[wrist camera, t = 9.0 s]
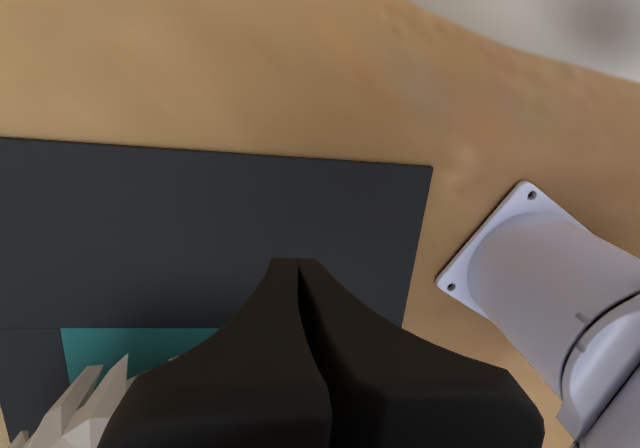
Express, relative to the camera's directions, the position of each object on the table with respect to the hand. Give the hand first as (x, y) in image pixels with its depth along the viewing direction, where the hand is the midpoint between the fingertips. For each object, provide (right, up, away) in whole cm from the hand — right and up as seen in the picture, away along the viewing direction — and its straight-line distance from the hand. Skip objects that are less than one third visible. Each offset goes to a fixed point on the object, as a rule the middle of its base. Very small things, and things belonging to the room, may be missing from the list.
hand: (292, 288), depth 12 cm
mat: (-6, -8, +14) cm, 17 cm away
